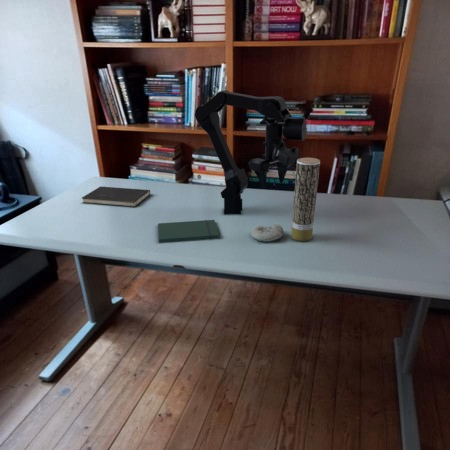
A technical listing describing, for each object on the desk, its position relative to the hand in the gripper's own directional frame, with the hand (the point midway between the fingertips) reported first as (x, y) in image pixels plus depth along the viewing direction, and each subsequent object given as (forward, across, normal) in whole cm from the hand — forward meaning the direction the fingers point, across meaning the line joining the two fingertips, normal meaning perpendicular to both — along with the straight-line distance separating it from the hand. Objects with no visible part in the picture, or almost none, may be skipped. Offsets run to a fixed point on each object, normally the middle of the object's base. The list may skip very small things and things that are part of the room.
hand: (272, 185), depth 147 cm
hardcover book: (+11, -29, +59) cm, 67 cm away
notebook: (+12, -30, +11) cm, 34 cm away
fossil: (+12, -14, -11) cm, 21 cm away
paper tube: (+12, -7, -19) cm, 24 cm away
